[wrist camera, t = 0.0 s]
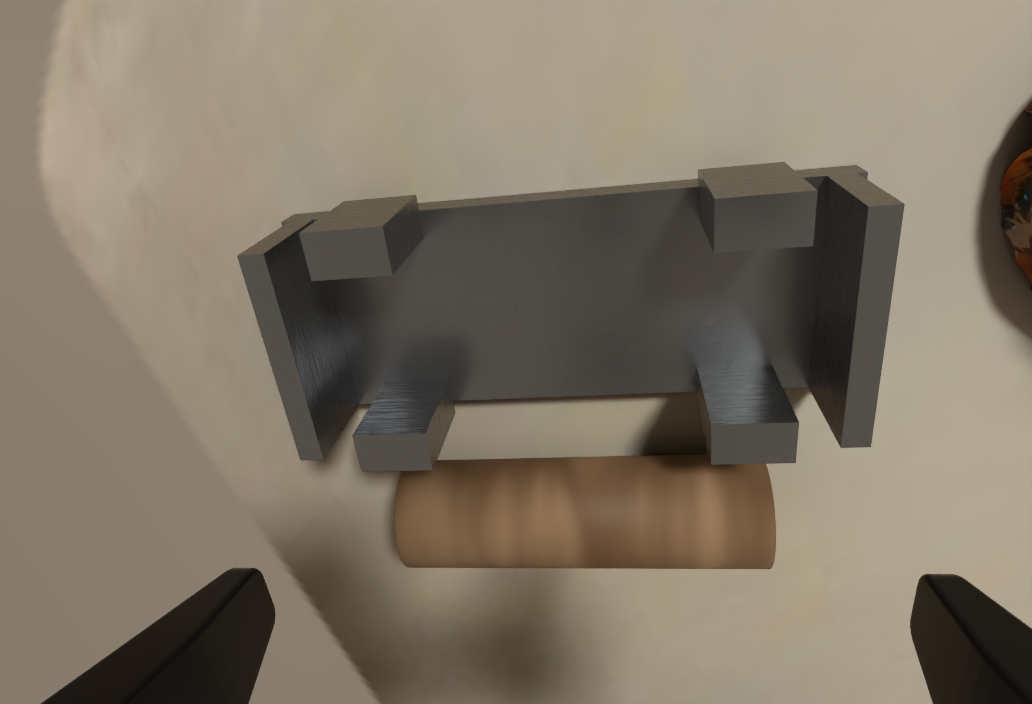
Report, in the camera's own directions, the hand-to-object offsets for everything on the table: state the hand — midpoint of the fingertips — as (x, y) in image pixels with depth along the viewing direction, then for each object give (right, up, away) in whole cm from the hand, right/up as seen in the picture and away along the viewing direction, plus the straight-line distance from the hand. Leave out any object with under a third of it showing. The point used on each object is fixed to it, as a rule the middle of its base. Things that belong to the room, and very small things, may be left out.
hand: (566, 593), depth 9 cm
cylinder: (+2, -2, +17) cm, 18 cm away
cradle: (+1, +5, +14) cm, 15 cm away
